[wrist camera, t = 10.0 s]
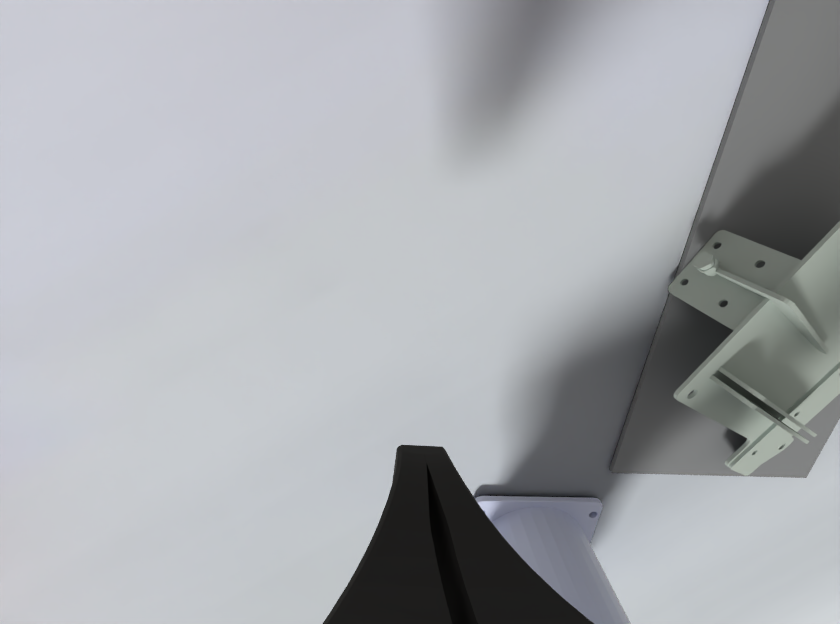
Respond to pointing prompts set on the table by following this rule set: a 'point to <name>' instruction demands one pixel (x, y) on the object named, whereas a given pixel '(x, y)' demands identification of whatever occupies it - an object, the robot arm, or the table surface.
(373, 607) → the robot arm
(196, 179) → the table surface
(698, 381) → the metal bracket
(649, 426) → the rubber mat
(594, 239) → the table surface
